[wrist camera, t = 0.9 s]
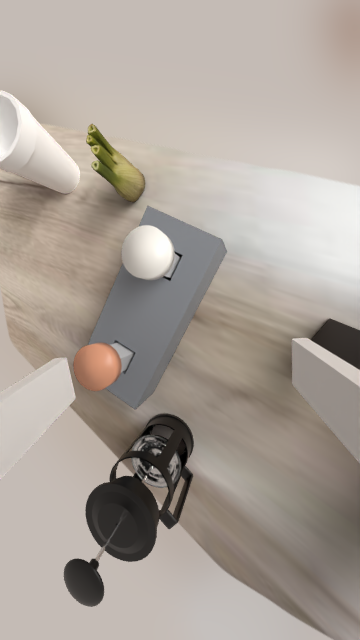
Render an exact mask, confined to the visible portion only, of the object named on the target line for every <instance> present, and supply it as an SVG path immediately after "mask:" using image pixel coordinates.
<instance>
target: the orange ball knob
mask: <svg viewBox="0 0 360 640" xmlns="http://www.w3.org/2000/svg"><path fill="white" fill-rule="evenodd" d="M134 355H135V352H134V351H132V350H131V349H129V348H127V347H126V346H124V345H123V344H121V343H120V342H118V343H114V344H111V345H109V344H107V343H102V342H100V343H95V344H91V345H87V346H84V347H82V348H81V349H80V350H79V351H78V352H77V354H76V356H75V358H74V373H75V376H76V378H77V380H78V381H79V383H80V384H81V385H82V386H83V387H85V388H86V389H88V390H91V391H99V390H102V389H104V388H106V387H108V386H109V385H111V384H113V383H114V382H115V381H116V380H117V379H118V378H119V376H120V374H121V372H123V371H125V370H127V369H128V367H129V365H130V363H131V361H132V359H133V357H134Z"/></svg>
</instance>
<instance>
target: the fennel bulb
mask: <svg viewBox="0 0 360 640" xmlns="http://www.w3.org/2000/svg"><path fill="white" fill-rule="evenodd" d="M88 134H89V135H88V136H87V140H86V142H87V143H88V144H89V145H90V146H91V151H92V152H93V153H94V155H95V156H96V157H97V158H98V159H99V161H98V160H97V161H94V162H93V163H92V164H91V166H92V168H93V169H94V170H95V171H96V172H97V173H99V174H100V175H101V176H102V177H104V178H105V179H106V180H107V181H108V182H110V183H111V184H112V185H113V186H114V188H115V190H116V191H117V193H118V194H119V195H120V196H121V197H123V198H124V199H126V200H128V201H130V202H135V201H136V200H138V198H139V197H140V195H141V194H142V193H143V191H144V188H145V179H144V176H143V174H142V173H141V172H140V171H139V170H138V169H137V168H135V167H134V166H133V165H132V164H131V163H130V162H129V161H128V160H127V159H126V158H125V157H124V156H122V155H121V154H120V153H119V152H118V151H116V150H115V149H114V148H113V147H112V146H111V145H110V144H109V143H108V142H107V141H106V139H105V138H104V137H103V135H102V134H101V133H100V132H99V130H98V129H97V128H96V127H95V125H93V124H91V125H90V126H89V127H88Z"/></svg>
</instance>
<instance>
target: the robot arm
mask: <svg viewBox="0 0 360 640" xmlns="http://www.w3.org/2000/svg"><path fill="white" fill-rule="evenodd" d="M292 385H293V386H294V387H295V388H296V389H297V391H298V392H299V393H300V394H301V395H302V397H303V398H304V399H305V400H306V401H307V402H308V404H309V405H310V406H311V407H312V408H313V409H314V411H315V412H316V413H317V414H318V415H319V416H320V418H321V419H322V420H323V421H324V422H325V424H326V425H327V426H328V427H329V428H330V429H331V431H332V432H333V433H334V434H335V435H336V436H337V438H338V439H339V440H340V441H341V442H342V444H343V445H344V446H345V447H346V448H347V449H348V451H349V452H350V453H351V454H352V455H353V456H354V458H355V459H356V460H357V461H358V462H359V464H360V370H359V369H357V368H356V367H354V366H352V365H351V364H349V363H347V362H346V361H344V360H342V359H341V358H339V357H337V356H336V355H334V354H332V353H331V352H329V351H327V350H326V349H324V348H323V347H321V346H319V345H318V344H316V343H314V342H313V341H311V340H309V339H308V338H295V339H292ZM75 399H76V397H75V393H74V388H73V384H72V379H71V375H70V370H69V366H68V361H67V357H65V358H54V359H53V360H51V361H50V362H48V363H46V364H45V365H43V366H42V367H40V368H38V369H37V370H35V371H34V372H32V373H30V374H29V375H27V376H26V377H24V378H22V379H21V380H19V381H18V382H16V383H14V384H13V385H11V386H10V387H8V388H7V389H5V390H3V391H2V392H0V480H1V478H3V476H4V475H5V474H6V473H7V472H8V471H9V470H10V469H11V468H12V467H13V466H14V465H15V464H16V462H17V461H18V460H19V459H20V458H21V457H22V456H23V455H24V454H25V453H26V452H27V451H28V450H29V448H30V447H31V446H32V445H33V444H34V443H35V442H36V441H37V440H38V439H39V438H40V436H42V434H43V433H44V432H45V431H46V430H47V429H48V428H49V427H50V426H51V425H52V424H53V422H55V420H56V419H57V418H58V417H59V416H60V415H61V414H62V413H63V412H64V411H65V410H66V409H67V407H68V406H69V405H70V404H71V403H72V402H73V401H74V400H75Z"/></svg>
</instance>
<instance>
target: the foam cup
mask: <svg viewBox="0 0 360 640" xmlns="http://www.w3.org/2000/svg"><path fill="white" fill-rule="evenodd" d="M0 168H1V169H3V170H5V171H6V172H12V173H14V174H17V175H19V176H22V177H24V178H26V179H29V180H31V181H34V182H36V183H38V184H41V185H43V186H46V187H48V188H50V189H53V190H55V191H58V192H60V193H63V194H67V193H70V192H72V191H73V190H75V188H76V187H77V185H78V183H79V179H80V171H79V167H78V166H77V164H76V163H75V162H74V160H73V159H72V158H71V157H70V156H69V155H68V154H67V153H66V152H65V151H64V150H63V148H62V147H61V146H60V145H59V144H58V143H57V142H56V141H55V140H54V139H53V138H52V137H51V136H50V134H49V133H48V132H47V131H46V130H45V129H44V128H43V127H42V126H41V125H40V124H39V123H38V122H37V120H36V119H35V118H34V117H33V116H32V115H31V113H30V112H29V110H28V109H27V108H26V107H25V106H24V105H23V104H22V103H20V102H19V101H18V100H17V99H16V98H15V97H14V96H13V95H11V94H9V93H6V92H4V91H2V90H1V91H0Z"/></svg>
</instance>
